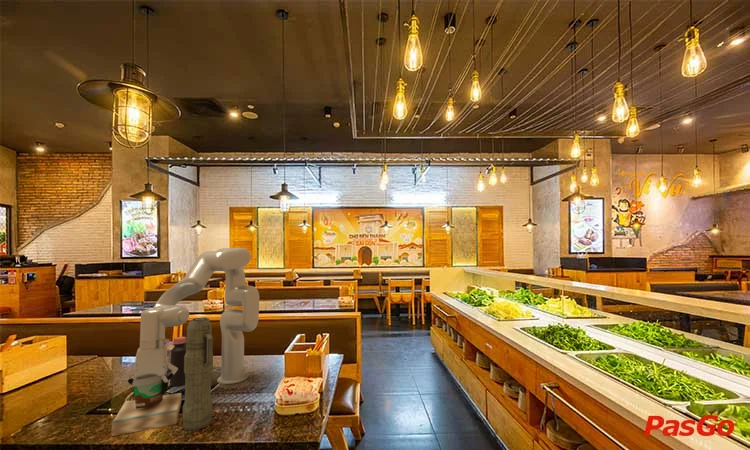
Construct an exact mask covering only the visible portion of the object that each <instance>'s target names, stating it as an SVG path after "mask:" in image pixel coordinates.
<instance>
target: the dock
mask: <svg viewBox="0 0 750 450" xmlns="http://www.w3.org/2000/svg"><path fill="white" fill-rule="evenodd" d="M181 405H182V392H178V393H172V394H164V395H163V400H162V401H161V402H160V403H158V404H156V405H153V406H150V407H146V408H139V409H136V404H135V399H133V400H126V401H124V403H123V405H122V406H121V408H120V409H119V411H118V413H117V415H116V416H115V418H114V419H113V420H112V422H111V437H112V436H113V437H114V436H119V435H123V434H124V435H125V434H130V433H134V432H135V433H136V432H141V431H147V430H150V429H156V428H162V427H163V428H164V427H168V426H173V425H177V422H178V419H179V413H180V410H181Z"/></svg>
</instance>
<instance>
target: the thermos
mask: <svg viewBox="0 0 750 450" xmlns="http://www.w3.org/2000/svg"><path fill="white" fill-rule="evenodd" d="M212 330H213V327H212V323H211V321H210V318H208V317H195V318H192V319H191V320H189V322H188V325H187V328H186V335H185V337H186V344H185V346H186V354H185V356H184V373H185V384H184V403H183V405H182V417H181V418H182V429H183V430H184V431H198V430H201V429H204V428H206V427H208V426H210V424H211V423H212V414H213V400H212V397H211V395H212V394H211V393H212V370H213V369H214V352H213V349H214V347H213V344H214V338H213V334H212V333H213V332H212Z"/></svg>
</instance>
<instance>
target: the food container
mask: <svg viewBox="0 0 750 450" xmlns="http://www.w3.org/2000/svg"><path fill="white" fill-rule="evenodd" d="M162 384H163V379H162V377H161V376H158V375H156V376H153V377H149V378H145V379H137V380H136V379H134V380H133V383H132V385H131V386H132V387H133V386H134V387H133V391H134V394H135V396H134V400H135V404H136V409H139V408H146V407H150V406H153V405H156V404H158V403H160V402H161V401H162V400H163V396H164V395H163V394H162Z"/></svg>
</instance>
